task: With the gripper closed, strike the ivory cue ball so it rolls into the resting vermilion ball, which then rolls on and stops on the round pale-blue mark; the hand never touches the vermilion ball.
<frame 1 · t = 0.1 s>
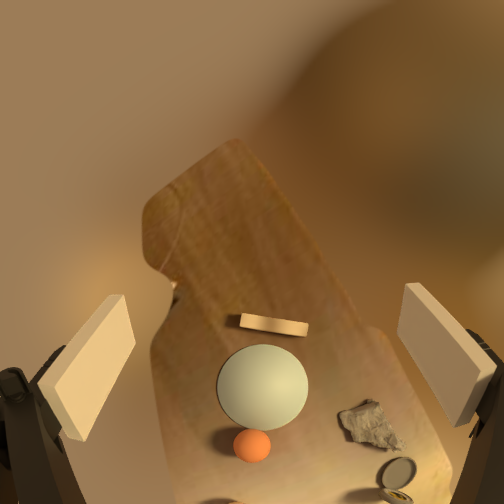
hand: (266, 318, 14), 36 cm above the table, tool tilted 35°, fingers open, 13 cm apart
pocket watch: (393, 477, 40), on the table
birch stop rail: (273, 326, 49), on the table
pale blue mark: (262, 388, 46), on the table
object ball: (251, 445, 41), on the table
mineral specimen: (370, 425, 44), on the table
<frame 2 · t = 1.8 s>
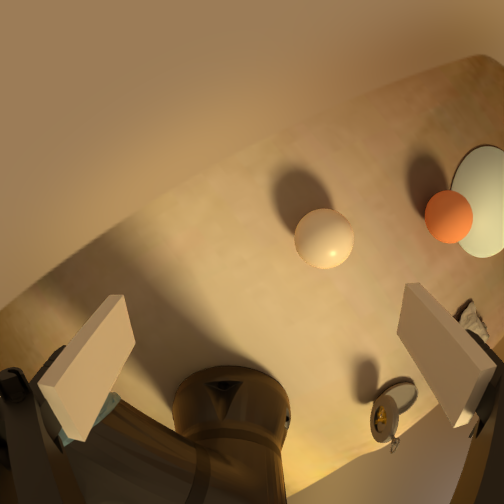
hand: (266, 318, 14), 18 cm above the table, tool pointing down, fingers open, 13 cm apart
pocket watch: (388, 396, 39), on the table
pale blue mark: (489, 202, 31), on the table
cue ball: (324, 238, 29), on the table
object ball: (448, 216, 28), on the table
mineral specimen: (454, 339, 37), on the table
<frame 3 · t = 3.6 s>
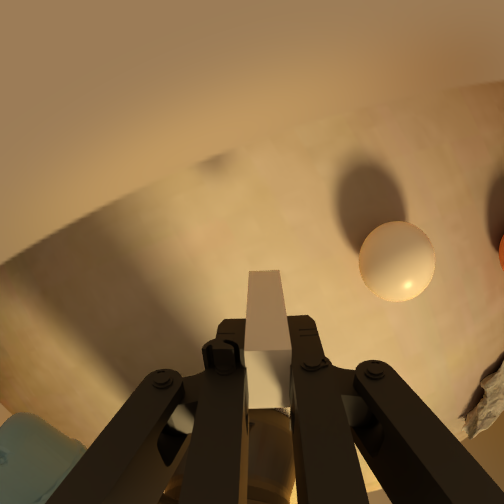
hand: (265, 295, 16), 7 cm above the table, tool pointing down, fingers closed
cue ball: (397, 261, 20), on the table
mineral specimen: (489, 383, 29), on the table
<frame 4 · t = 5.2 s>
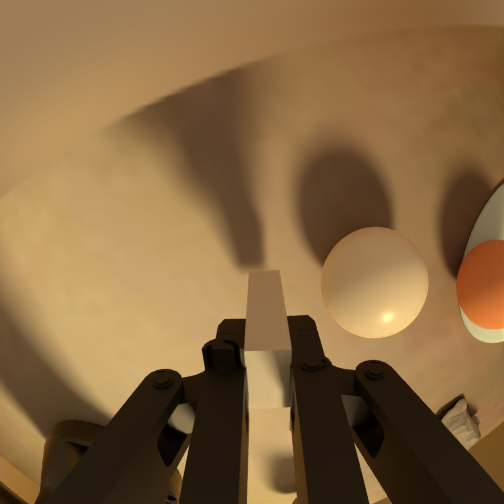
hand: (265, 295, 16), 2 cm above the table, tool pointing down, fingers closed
cue ball: (375, 282, 15), on the table
object ball: (495, 284, 15), on the table
mineral specimen: (432, 436, 24), on the table
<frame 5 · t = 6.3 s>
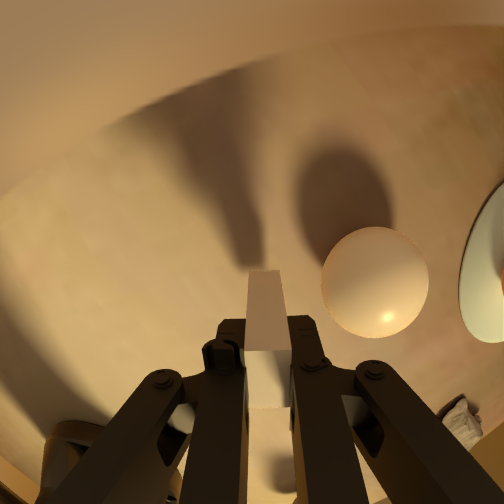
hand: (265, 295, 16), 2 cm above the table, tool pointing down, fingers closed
cue ball: (375, 282, 15), on the table
mineral specimen: (435, 435, 24), on the table
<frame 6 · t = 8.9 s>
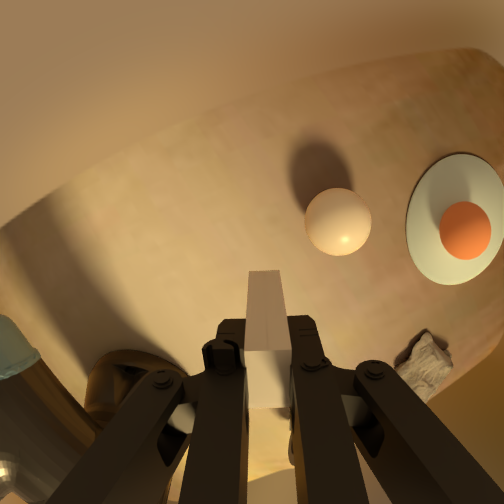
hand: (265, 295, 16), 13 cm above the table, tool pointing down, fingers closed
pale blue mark: (462, 222, 27), on the table
cue ball: (338, 221, 25), on the table
object ball: (465, 230, 25), on the table
mineral specimen: (413, 369, 34), on the table
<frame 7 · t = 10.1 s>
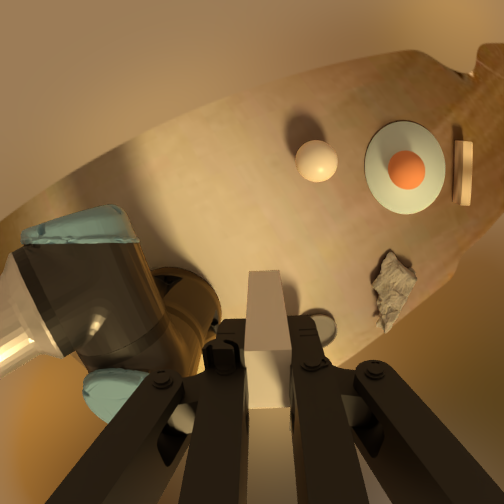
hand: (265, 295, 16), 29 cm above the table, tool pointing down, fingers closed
pocket watch: (310, 327, 51), on the table
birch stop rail: (458, 171, 42), on the table
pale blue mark: (407, 167, 42), on the table
cue ball: (316, 161, 39), on the table
object ball: (406, 169, 39), on the table
mineral specimen: (387, 286, 49), on the table
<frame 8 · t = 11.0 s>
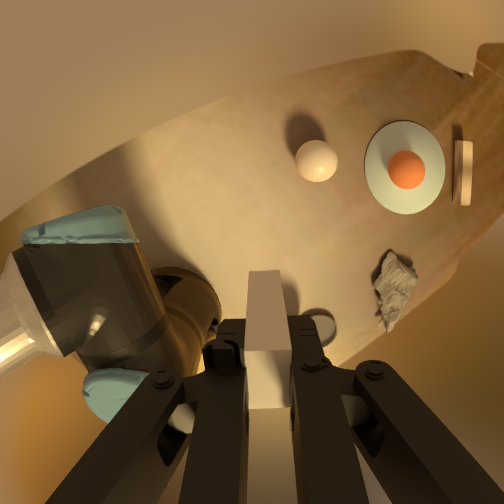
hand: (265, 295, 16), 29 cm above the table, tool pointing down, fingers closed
pocket watch: (310, 326, 51), on the table
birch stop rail: (458, 171, 42), on the table
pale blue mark: (407, 167, 42), on the table
cue ball: (316, 160, 39), on the table
object ball: (406, 169, 39), on the table
mineral specimen: (388, 285, 49), on the table
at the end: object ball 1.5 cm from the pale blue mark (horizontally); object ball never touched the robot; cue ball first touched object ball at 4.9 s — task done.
